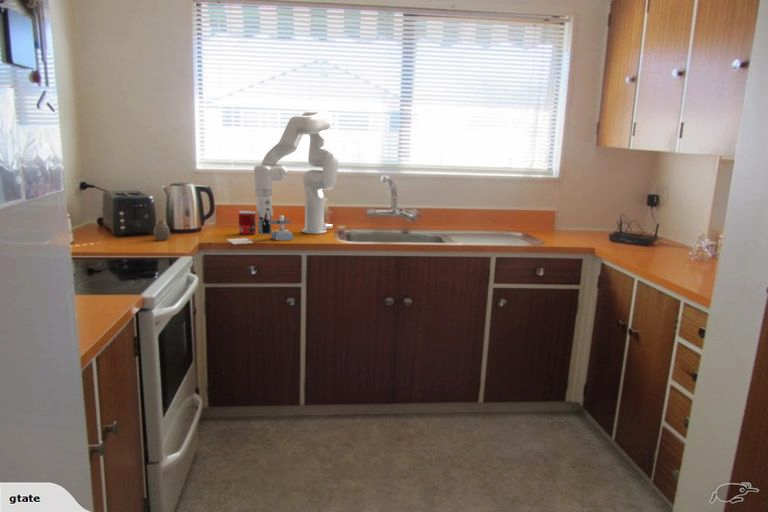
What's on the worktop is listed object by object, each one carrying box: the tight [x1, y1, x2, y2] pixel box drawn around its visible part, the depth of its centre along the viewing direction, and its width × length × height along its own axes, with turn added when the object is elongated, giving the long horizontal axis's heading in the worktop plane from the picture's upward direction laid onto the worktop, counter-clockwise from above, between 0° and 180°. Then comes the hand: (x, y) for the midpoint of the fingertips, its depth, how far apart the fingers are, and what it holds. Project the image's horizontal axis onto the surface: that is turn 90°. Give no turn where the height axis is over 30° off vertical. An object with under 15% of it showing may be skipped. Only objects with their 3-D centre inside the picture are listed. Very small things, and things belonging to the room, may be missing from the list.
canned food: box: [238, 210, 257, 236], centre depth 272 cm, size 8×8×11 cm
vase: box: [153, 219, 171, 242], centre depth 249 cm, size 7×7×9 cm
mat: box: [226, 237, 254, 245], centre depth 252 cm, size 9×11×1 cm
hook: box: [257, 217, 291, 236], centre depth 259 cm, size 14×5×7 cm, turn 120°
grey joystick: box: [270, 215, 294, 241], centre depth 261 cm, size 8×7×11 cm
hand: (264, 231), depth 257 cm, fingers closed on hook, 4 cm apart
